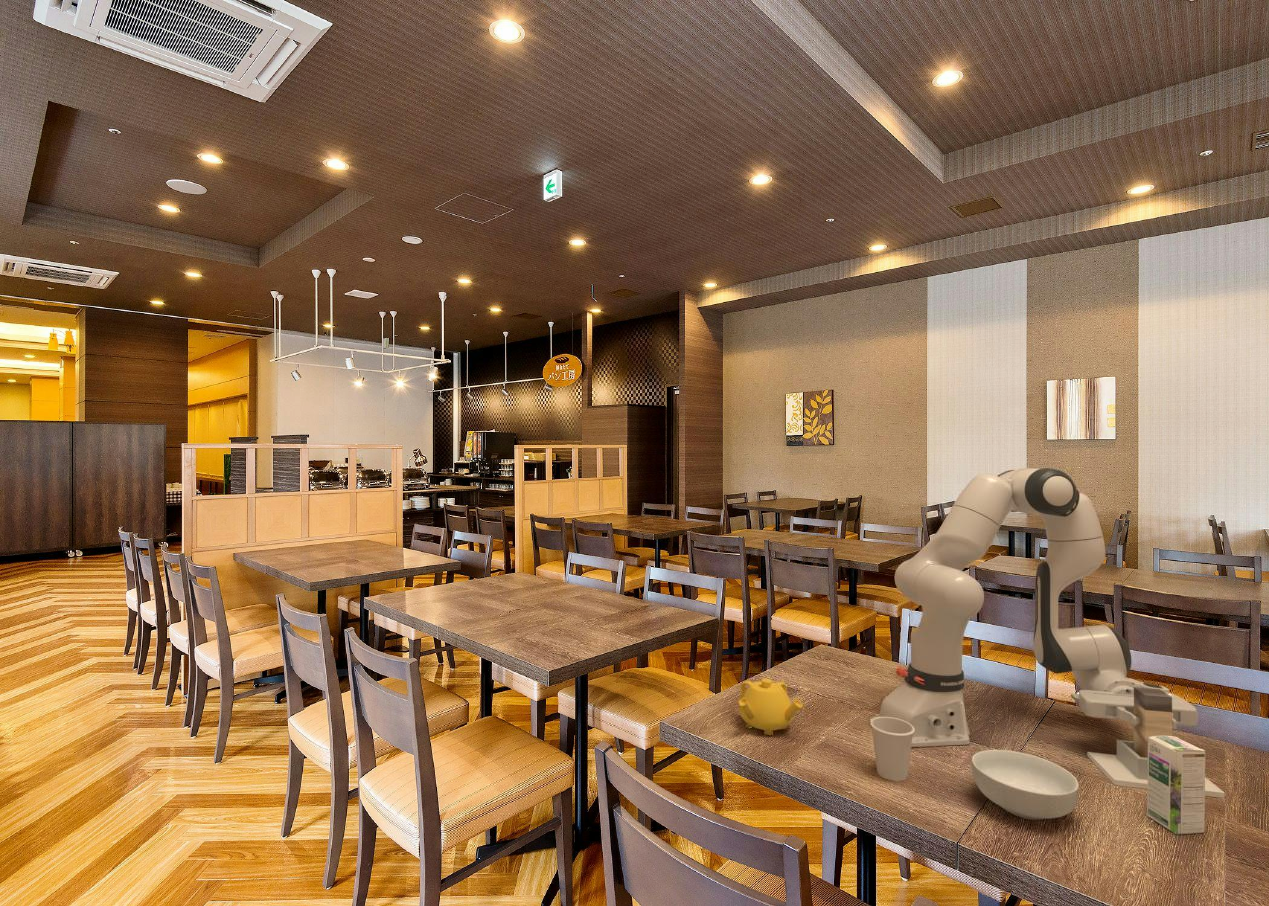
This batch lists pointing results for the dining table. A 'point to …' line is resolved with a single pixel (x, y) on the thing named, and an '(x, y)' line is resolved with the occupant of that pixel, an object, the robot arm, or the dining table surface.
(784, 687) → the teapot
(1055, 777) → the cereal bowl
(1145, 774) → the caddy
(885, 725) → the dixie cup
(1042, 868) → the dining table surface
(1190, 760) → the syrup box
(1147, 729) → the tool handle
